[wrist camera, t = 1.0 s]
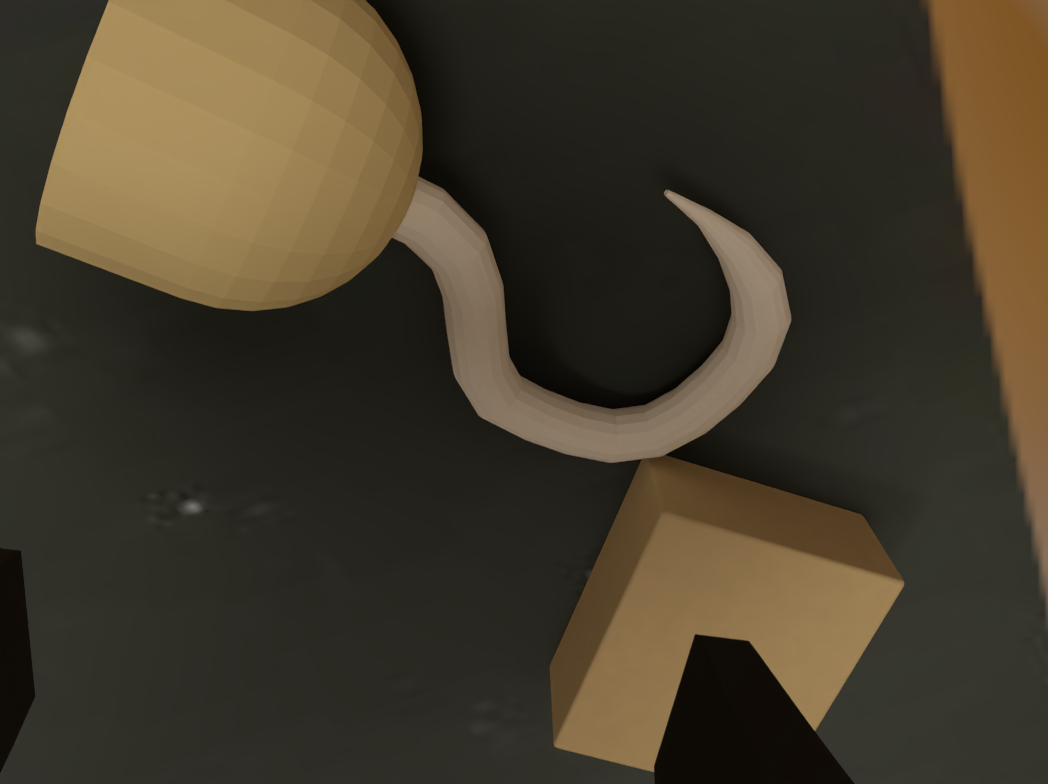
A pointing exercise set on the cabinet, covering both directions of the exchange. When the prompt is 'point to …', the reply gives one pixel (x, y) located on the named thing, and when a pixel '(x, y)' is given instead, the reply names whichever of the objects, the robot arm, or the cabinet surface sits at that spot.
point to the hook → (334, 201)
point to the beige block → (713, 603)
